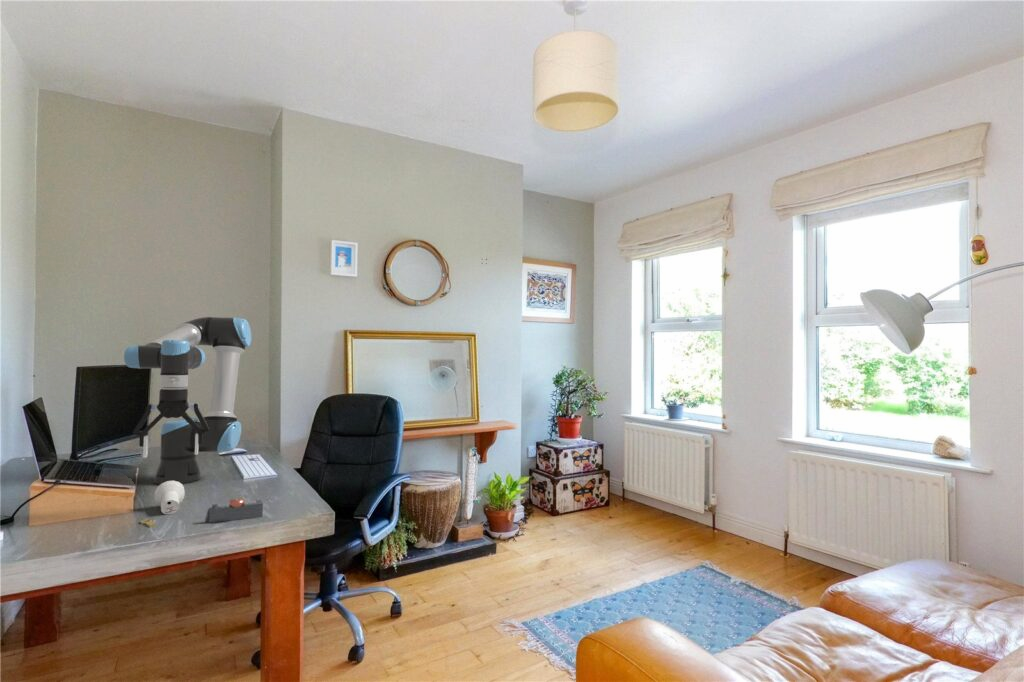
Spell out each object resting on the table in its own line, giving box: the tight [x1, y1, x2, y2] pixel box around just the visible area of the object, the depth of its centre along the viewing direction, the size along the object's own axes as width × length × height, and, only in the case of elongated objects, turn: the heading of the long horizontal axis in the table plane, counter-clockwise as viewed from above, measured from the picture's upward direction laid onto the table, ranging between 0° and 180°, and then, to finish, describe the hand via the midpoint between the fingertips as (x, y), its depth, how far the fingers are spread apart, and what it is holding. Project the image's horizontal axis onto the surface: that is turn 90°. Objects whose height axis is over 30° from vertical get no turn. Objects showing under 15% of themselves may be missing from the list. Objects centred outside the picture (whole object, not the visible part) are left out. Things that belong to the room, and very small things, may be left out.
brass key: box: [140, 518, 158, 528], centre depth 149 cm, size 7×3×1 cm, turn 52°
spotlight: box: [154, 481, 186, 515], centre depth 162 cm, size 8×11×8 cm
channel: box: [208, 497, 264, 524], centre depth 160 cm, size 16×14×6 cm
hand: (171, 455), depth 163 cm, fingers open, 13 cm apart
